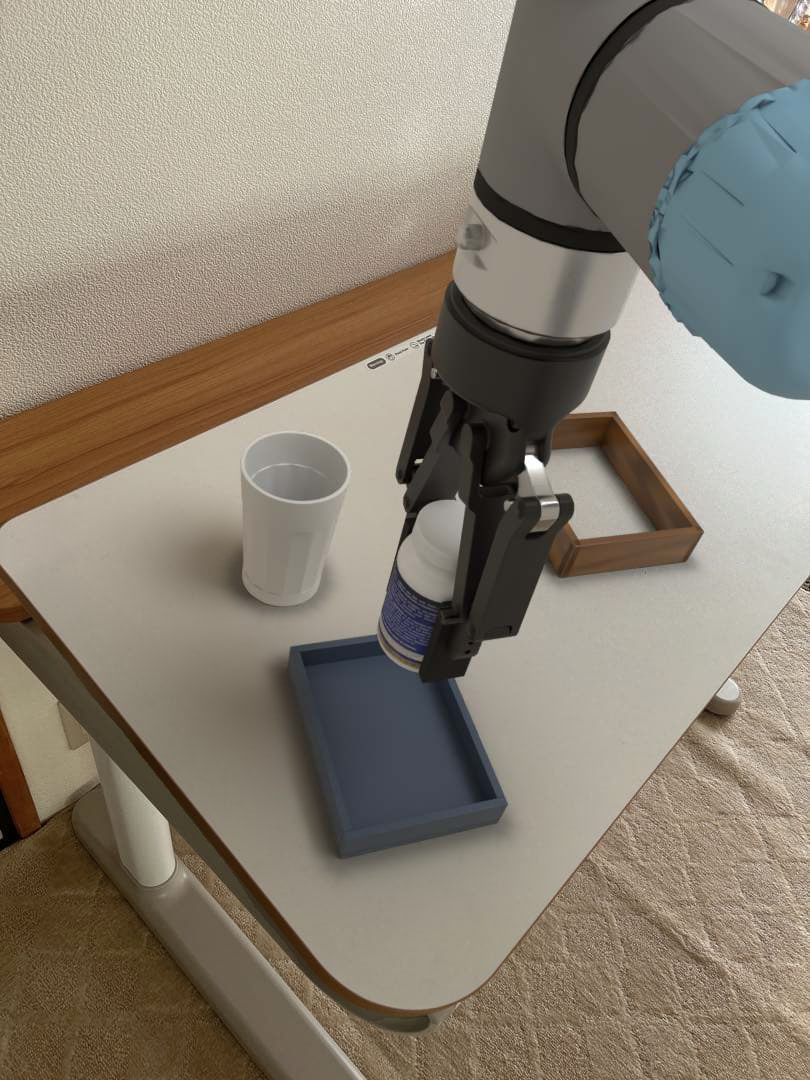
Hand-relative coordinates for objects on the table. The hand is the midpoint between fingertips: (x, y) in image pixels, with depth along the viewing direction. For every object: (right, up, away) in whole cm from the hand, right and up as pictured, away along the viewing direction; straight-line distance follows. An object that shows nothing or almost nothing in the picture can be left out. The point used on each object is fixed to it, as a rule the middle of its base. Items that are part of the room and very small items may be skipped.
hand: (423, 631), depth 54 cm
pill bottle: (0, -1, +1) cm, 1 cm away
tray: (-2, -9, +9) cm, 12 cm away
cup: (-11, +3, +18) cm, 21 cm away
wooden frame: (+16, +9, +31) cm, 36 cm away
